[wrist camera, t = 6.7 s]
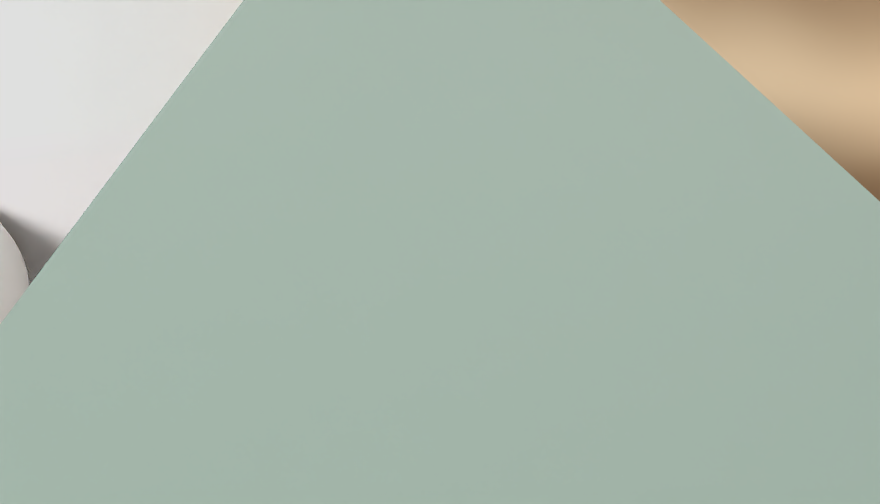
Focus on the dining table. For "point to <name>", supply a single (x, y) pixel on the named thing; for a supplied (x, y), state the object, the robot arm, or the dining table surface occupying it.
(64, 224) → the dining table surface
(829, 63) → the brown shallow square tray
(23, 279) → the cup
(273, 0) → the mint green panel
